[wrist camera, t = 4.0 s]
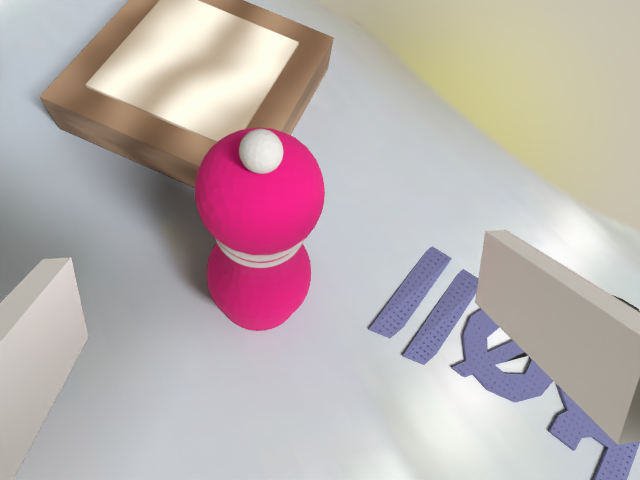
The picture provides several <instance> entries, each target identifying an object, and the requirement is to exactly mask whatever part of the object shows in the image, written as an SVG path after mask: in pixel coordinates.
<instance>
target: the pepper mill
mask: <svg viewBox="0 0 640 480" xmlns="http://www.w3.org/2000/svg"><path fill="white" fill-rule="evenodd" d="M324 194H325V191H324V182H323V177H322V173H321V170H320V168H319V165H318V163H317V161H316V159H315V158H314V156H313V155H312V154H311V152H310V151H309V150H308V148H307V147H306V146H305V145H303V144H302V143H301V142H300V141H298V140H297V139H296V138H295V137H293V136H291V135H289V134H286V133H284V132H281V131H278V130H275V129H271V128H262V127H260V128H248V129H243V130H239V131H236V132H234V133H231V134H229V135H227V136H225V137H224V138H222V139H221V140H219V141H218V142H217V143H216V144H214V145H213V146H212V147H211V148H210V150H209V151H208V152H207V154H206V155H205V156H204V158H203V160H202V163H201V165H200V167H199V169H198V172H197V176H196V181H195V200H196V205H197V209H198V213H199V215H200V217H201V219H202V221H203V223H204V225H205V227H206V228H207V229H208V231H209V232H210V233H211V234H212V235H213V237H214V238H215V240H216V244H215V246H214V248H213V250H212V251H211V254H210V257H209V259H208V265H207V283H208V288H209V292H210V294H211V296H212V299H213V300H214V302H215V303H216V305H217V306H218V307H219V308H220V310H222V311H223V312H224V313H225V314H226V315H227V316H228V318H229V319H230V320H231V321H232V322H234V323H235V324H237V325H239V326H240V327H242V328H245V329H248V330H255V331H262V330H268V329H272V328H275V327H277V326H279V325H280V324H282V323H283V322H285V321H286V320H287V319H288V318H289V317H290V316H291V315H292V313H293V312H295V311H296V310H297V309H298V308H299V306H300V305H301V304H302V302H303V301H304V299H305V297H306V295H307V293H308V290H309V286H310V281H311V266H310V260H309V256H308V253H307V251H306V249H305V247H304V245H303V241H304V239H305V238H306V237H307V236H308V235H309V234H310V232H311V231H312V230H313V228H314V227H315V225H316V223H317V221H318V219H319V217H320V215H321V212H322V209H323V204H324Z"/></svg>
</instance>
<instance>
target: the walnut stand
mask: <svg viewBox="0 0 640 480" xmlns="http://www.w3.org/2000/svg"><path fill="white" fill-rule="evenodd" d="M332 43H333V37H331V36H328V35H326V34H324V33H321V32H319V31H316V30H314V29H312V28H309V27H307V26H304V25H302V24H299V23H297V22H295V21H292V20H290V19H287V18H285V17H282V16H280V15H278V14H275V13H273V12H270V11H268V10H265V9H263V8H261V7H258V6H256V5H253V4H251V3H249V2H246V1H244V0H129V1H128V2H127V3H126V4H125V5H124V6H123V7H122V8H121V9H120V11H119V12H118V13H117V14H116V15H115V16H114V17H113V18H112V19H111V20H110V21H109V22H108V23H107V24H106V26H105V27H104V28H103V29H102V30H101V31H100V32H99V33H98V34H97V35H96V36H95V37H94V38H93V40H92V41H91V42H90V43H89V44H88V45H87V46H86V47H85V48H84V49H83V50H82V51H81V52H80V54H79V55H78V56H77V57H76V58H75V59H74V60H73V61H72V62H71V63H70V64H69V65H68V66H67V68H66V69H65V70H64V71H63V72H62V73H61V74H60V75H59V76H58V77H57V78H56V79H55V80H54V81H53V83H52V84H51V85H50V86H49V87H48V88H47V89H46V90H45V91H44V92H43V93H42V94H41V95H40V99H41V100H42V102H43V103H44V105H45V106H46V108H47V110H48V111H49V113H50V114H51V116H52V117H53V119H54V121H55V122H56V124H57V125H58V127H59V128H60V129H62V130H64V131H66V132H69V133H71V134H73V135H76V136H78V137H80V138H82V139H85V140H87V141H89V142H92V143H94V144H96V145H98V146H101V147H103V148H105V149H108V150H110V151H112V152H114V153H117V154H119V155H121V156H124V157H126V158H128V159H130V160H133V161H135V162H137V163H140V164H142V165H144V166H146V167H149V168H151V169H153V170H155V171H158V172H160V173H162V174H165V175H167V176H169V177H171V178H174V179H176V180H178V181H181V182H183V183H185V184H187V185H190V186H192V187H194V188H195V181H196V176H197V172H198V169H199V167H200V165H201V163H202V160H203V158H204V156H205V155H206V154H207V152H208V151H209V150H210V148H211V147H212V146H213V145H214V144H216V143H217V142H218V141H219V140H221V139H222V138H224V137H225V136H227V135H229V134H231V133H234V132H236V131H239V130H243V129H248V128H260V127H262V128H271V129H275V130H278V131H281V132H284V133H286V134H289V135H291V133H292V132H293V130H294V128H295V126H296V124H297V123H298V121H299V119H300V117H301V116H302V114H303V112H304V110H305V109H306V107H307V105H308V103H309V101H310V100H311V98H312V96H313V94H314V93H315V91H316V89H317V87H318V86H319V84H320V82H321V80H322V78H323V77H324V75H325V73H326V71H327V70H328V64H329V59H330V54H331V49H332Z"/></svg>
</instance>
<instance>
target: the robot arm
mask: <svg viewBox="0 0 640 480" xmlns="http://www.w3.org/2000/svg"><path fill="white" fill-rule="evenodd" d="M475 303H476V304H477V305H478V306H479V307H480V308H481V309H482V310H483V311H484V312H485V313H486V314H487V315H488V316H489V317H490V318H491V319H492V320H493V321H494V322H495V323H496V324H497V325H498V326H499V327H500V328H501V329H502V330H503V331H504V332H505V333H506V334H507V335H508V336H509V337H510V338H511V339H512V340H513V341H514V342H515V343H516V344H517V345H518V346H519V347H520V348H521V349H522V350H523V351H524V352H525V353H526V354H527V355H528V356H529V357H530V358H531V359H532V360H533V361H534V362H535V363H536V364H537V365H538V366H539V367H540V368H541V369H542V370H543V371H544V372H545V373H546V374H547V375H548V376H549V377H550V378H551V379H552V380H553V381H554V382H555V383H556V384H557V385H558V386H559V387H560V388H561V389H562V390H563V391H564V392H565V393H566V394H567V395H568V396H569V397H570V398H571V399H572V400H573V401H574V402H575V403H576V404H577V405H578V406H579V407H580V408H581V409H582V410H583V411H584V412H585V413H586V414H587V415H588V416H589V417H590V418H591V419H592V420H593V421H594V422H595V423H596V424H597V425H598V426H599V427H600V428H601V429H602V430H603V431H604V432H605V433H606V434H607V435H608V436H609V437H610V438H611V439H612V440H613V441H614V442H615V443H616V444H617V445H619V444H625V443H632V442H638V441H640V311H639V309H638V308H636V307H634V306H633V305H631V304H629V303H628V302H626V301H625V300H623V299H621V298H618V297H616V296H613V295H611V294H609V293H607V292H606V291H604V290H603V289H601V288H599V287H598V286H596V285H594V284H593V283H591V282H590V281H588V280H586V279H585V278H583V277H581V276H580V275H578V274H577V273H575V272H573V271H572V270H570V269H568V268H567V267H565V266H564V265H562V264H560V263H559V262H557V261H555V260H554V259H552V258H551V257H549V256H547V255H546V254H544V253H543V252H541V251H539V250H538V249H536V248H534V247H533V246H531V245H530V244H528V243H526V242H525V241H523V240H521V239H520V238H518V237H517V236H515V235H513V234H512V233H510V232H508V231H507V230H499V231H485V238H484V245H483V251H482V258H481V265H480V272H479V279H478V285H477V292H476V299H475ZM88 338H89V337H88V332H87V328H86V323H85V319H84V314H83V309H82V305H81V300H80V296H79V291H78V286H77V282H76V277H75V273H74V268H73V263H72V259H71V257H68V258H52V259H42V260H41V261H40V262H39V263H38V264H37V265H36V267H35V268H34V269H33V270H32V271H31V272H30V273H29V274H28V275H27V276H26V277H25V278H24V279H23V280H22V281H21V282H20V283H19V284H18V285H17V286H16V287H15V288H14V289H13V290H12V291H11V292H10V293H9V294H8V295H7V296H6V297H5V298H4V299H3V301H2V302H1V303H0V480H14V478H15V476H16V474H17V472H18V470H19V468H20V466H21V464H22V463H23V461H24V459H25V457H26V455H27V453H28V451H29V449H30V447H31V445H32V444H33V442H34V440H35V438H36V436H37V434H38V432H39V430H40V428H41V427H42V425H43V423H44V421H45V419H46V417H47V415H48V413H49V411H50V409H51V408H52V406H53V404H54V402H55V400H56V398H57V396H58V394H59V392H60V391H61V389H62V387H63V385H64V383H65V381H66V379H67V377H68V375H69V374H70V372H71V370H72V368H73V366H74V364H75V362H76V360H77V358H78V356H79V355H80V353H81V351H82V349H83V347H84V345H85V343H86V341H87V339H88Z"/></svg>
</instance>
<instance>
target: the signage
mask: <svg viewBox="0 0 640 480" xmlns="http://www.w3.org/2000/svg"><path fill="white" fill-rule="evenodd" d="M451 259H452V258H450V257H448V256H447V255H445V254H444V253H442V252H440V251H439V250H437V249H436V248H434V247H431V248H430V249H428V250H427V251H426V252H425V254H424V255H423V256H422V258H421V259H420V260H419V262H418V263H417V264H416V266H415V267H414V268H413V270H412V271H411V273H410V274H409V275H408V277H407V278H406V279H405V281H404V282H403V283H402V285H401V286H400V288H399V289H398V290H397V292H396V293H395V294H394V296H393V297H392V298H391V300H390V301H389V302H388V304H387V305H386V307H385V308H384V309H383V311H382V312H381V313H380V315H379V316H378V317H377V319H376V320H375V322H374V323H373V324H372V326H371V327H370V328H369V330H371V331H374V332H376V333H378V334H381V335H383V336H386V337H388V338H391V337H392V336H394V335H395V334H396V333H397V332H398V331H399V330H401V329H402V328H403V327H404V325H405V324H406V323H407V321H408V320H409V318H410V317H411V315H412V314H413V313H414V311H415V310H416V308H417V307H418V306H419V304H420V303H421V301H422V300H423V298H424V297H425V296H426V294H427V293H428V291H429V290H430V288H431V287H432V286H433V284H434V283H435V281H436V280H437V279H438V277H439V276H440V274H441V273H442V271H443V270H444V269H445V267H446V266H447V264H448V263H449V262H450V260H451ZM477 285H478V278H477V277H475V276H473V275H472V274H470V273H469V272H467V271H465V270H464V269H463V270H462V271H461V272H460V273H458V274H457V276H456V277H455V279H454V280H453V282H452V283H451V285H450V286H449V287H448V289H447V290H446V292H445V293H444V295H443V296H442V298H441V299H440V301H439V302H438V304H437V305H436V307H435V308H434V310H433V311H432V313H431V314H430V316H429V317H428V318H427V320H426V321H425V323H424V324H423V326H422V327H421V329H420V330H419V332H418V333H417V335H416V336H415V338H414V339H413V341H412V342H411V344H410V345H409V346H408V348H407V349H406V351H405V352H404V354H403V355H402V356H404V357H406V358H408V359H411V360H413V361H416V362H418V363H420V364H423V365H425V364H426V363H427V362H428V361H429V360H430V359H431V358H432V357H433V356H434V355H436V354H437V352H438V351H439V349H440V348H441V346H442V345H443V343H444V341H445V340H446V338H447V337H448V335H449V334H450V332H451V331H452V329H453V328H454V326H455V325H456V323H457V322H458V320H459V319H460V317H461V315H462V314H463V312H464V311H465V309H466V308H467V306H468V305H469V303H470V302H471V300H472V299H473V297H474V296H475V294H476V292H477ZM498 328H499V326H498V325H497V324H496V323H495V322H494V321H493V320H492V319H491V318H490V317H489V316H488V315H487V314H486V313H485V312H484V311H483V310H482V309H480V310H478V311H477V312H475V313H474V314H473V315H472V316H471V317H470V318H469V319H468V321H467V324H466V326H465V329H464V333H463V337H462V344H463V353H464V357H465V361H464V362H462V363H460V364H458V365H455V366H453V367H451V368H452V369H453V370H455V371H456V372H457V373H458V374H460V375H461V376H463V377H467V376H469V375H472V374H473V376H474V377H475V378H476V379H477V380H478V381H479V382H480V383H481V384H482V386H483V387H484V388H485V389H486V390H488V391H490V392H493V393H495V394H497V395H499V396H501V397H504V398H506V399H508V400H510V401H513V402H519V401H522V400H526V399H530V398H534V397H537V396H541V395H542V394H543V393H544V391H545V390H546V389H547V388H548V387H549V385H550V384H551V383H552V382H553V380H552V379H551V378H550V377H549V376H548V375H547V374H546V373H545V372H544V371H543V370H542V369H541V368H540V367H539V366H538V365H537V364H536V363H535V362H534V361H533V360H531V363H530V365H529V367H528V369H527V371H526V372H525V373H524V374H508V373H503V372H502V371H501V370H500V369H499V368H497V367H496V366H495V365H496V364H499V363H503V362H507V361H510V360H514V359H518V358H521V357H525V356H528V355H527V354H526V353H525V352H524V351H523V350H522V349H521V348H520V347H519V346H518V345H517V344H516V343H515V342H514V341H511V342H509V343H507V344H504V345H502V346H500V347H498V348H496V349H493V350H491V351H489V352H487V337H488V336H489V335H491V334H492V333H493V332H494V331H495V330H497V329H498ZM557 388H558V391H559V394H560V397H561V399H562V402H563V404H564V406H565V408H566V411H565V412H563V413H562V414H559V415H557V416H556V418H555V420H554V421H553V423H552V425H551V427H550V429H549V431H548V432H550V433H551V434H552V435H554V436H555V437H556V438H558V439H559V440H560V441H561V442H563V443H564V444H565V445H567V446H568V447H569V448H570V449H572V450H575V449H576V447H577V445H578V443H579V442H580V440H581V438H585V437H592V438H593V439H595V440H596V441H598V442H599V443H600V444H602V445H603V446H605V447H606V449H605V452H604V454H603V456H602V459H601V461H600V464H599V466H598V469H597V471H596V473H595V476H594V478H593V480H627V477H628V475H629V472H630V469H631V466H632V463H633V460H634V458H635V455H636V452H637V449H638V446H639V443H640V441H638V442H632V443H625V444H619V445H617V444H616V443H615V442H614V441H613V440H612V439H611V438H610V437H609V436H608V435H607V434H606V433H605V432H604V431H603V430H602V429H601V428H600V427H599V426H598V425H597V424H596V423H595V422H594V421H593V420H592V419H591V418H590V417H589V416H588V415H587V414H586V413H585V412H584V411H583V410H582V409H581V408H580V407H579V406H578V405H577V404H576V403H575V402H574V401H573V400H572V399H571V398H570V397H569V396H568V395H567V394H566V393H565V392H564V391H563V390H562V389H561V388H560V387H559V386H557Z"/></svg>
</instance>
